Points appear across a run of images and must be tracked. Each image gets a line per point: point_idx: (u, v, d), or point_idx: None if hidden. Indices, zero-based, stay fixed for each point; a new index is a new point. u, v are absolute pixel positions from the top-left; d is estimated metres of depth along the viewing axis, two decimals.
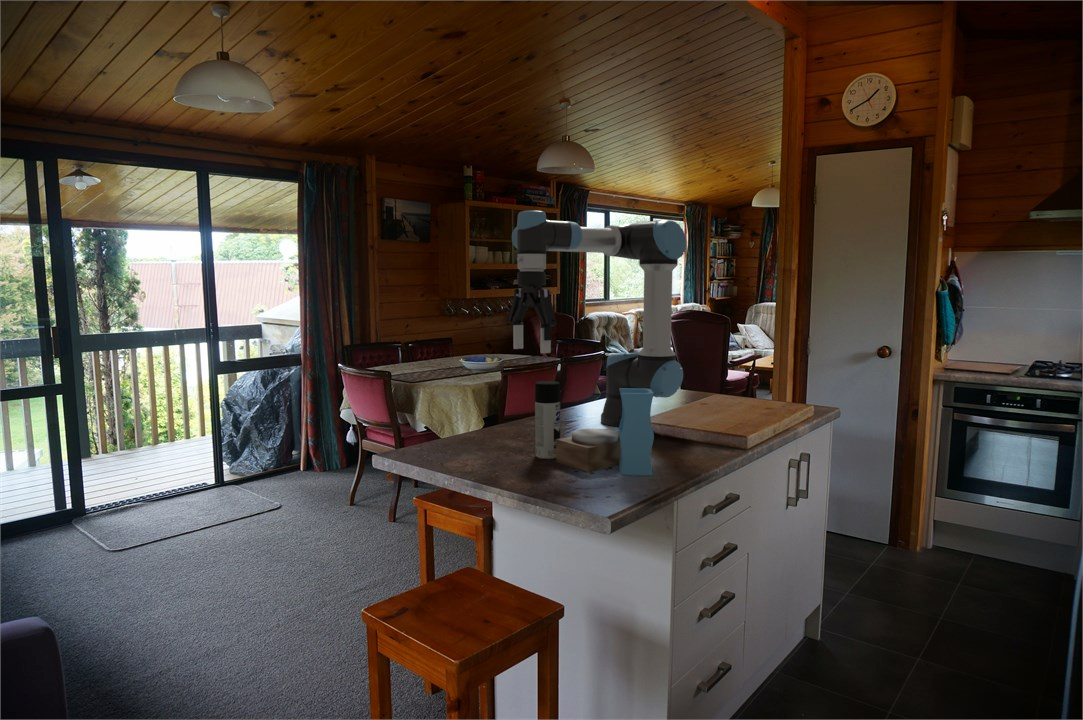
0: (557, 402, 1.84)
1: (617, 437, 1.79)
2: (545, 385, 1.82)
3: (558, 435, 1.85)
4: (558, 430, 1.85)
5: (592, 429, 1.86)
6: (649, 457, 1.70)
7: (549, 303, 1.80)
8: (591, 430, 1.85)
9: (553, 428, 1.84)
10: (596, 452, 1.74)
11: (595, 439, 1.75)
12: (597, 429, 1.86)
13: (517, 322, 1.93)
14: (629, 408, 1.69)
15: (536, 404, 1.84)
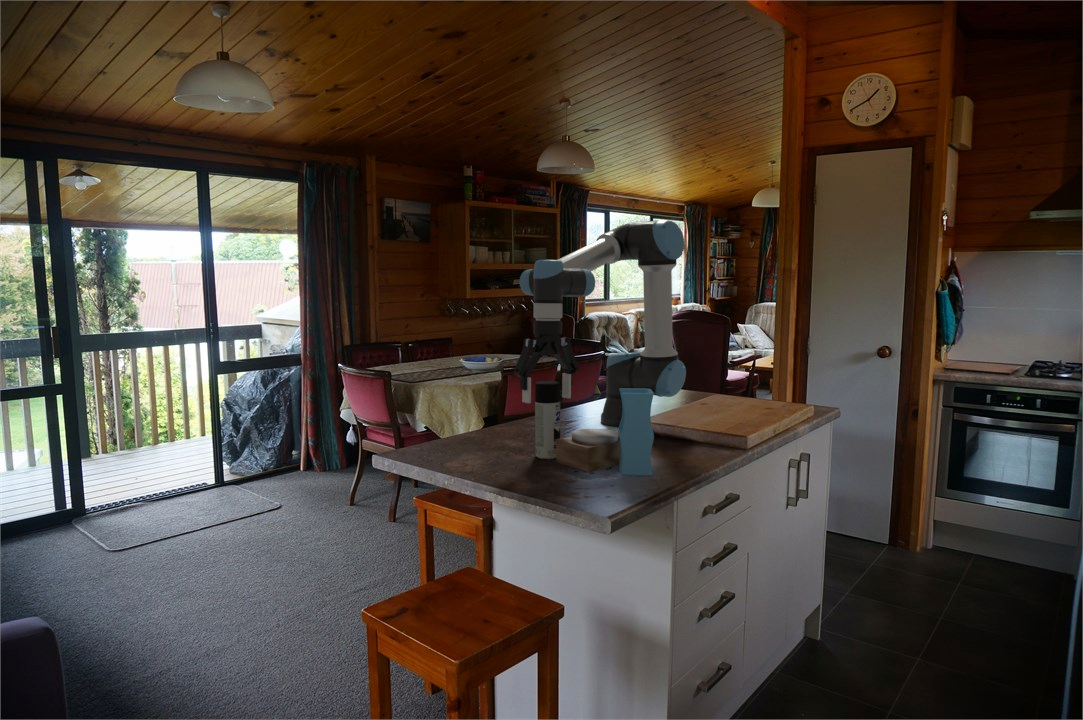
0: (557, 402, 1.84)
1: (617, 437, 1.79)
2: (545, 385, 1.82)
3: (558, 435, 1.85)
4: (558, 430, 1.85)
5: (592, 429, 1.86)
6: (649, 457, 1.70)
7: (525, 353, 1.79)
8: (591, 430, 1.85)
9: (553, 428, 1.84)
10: (596, 452, 1.74)
11: (595, 439, 1.75)
12: (597, 429, 1.86)
13: (567, 371, 1.89)
14: (629, 408, 1.69)
15: (536, 404, 1.84)
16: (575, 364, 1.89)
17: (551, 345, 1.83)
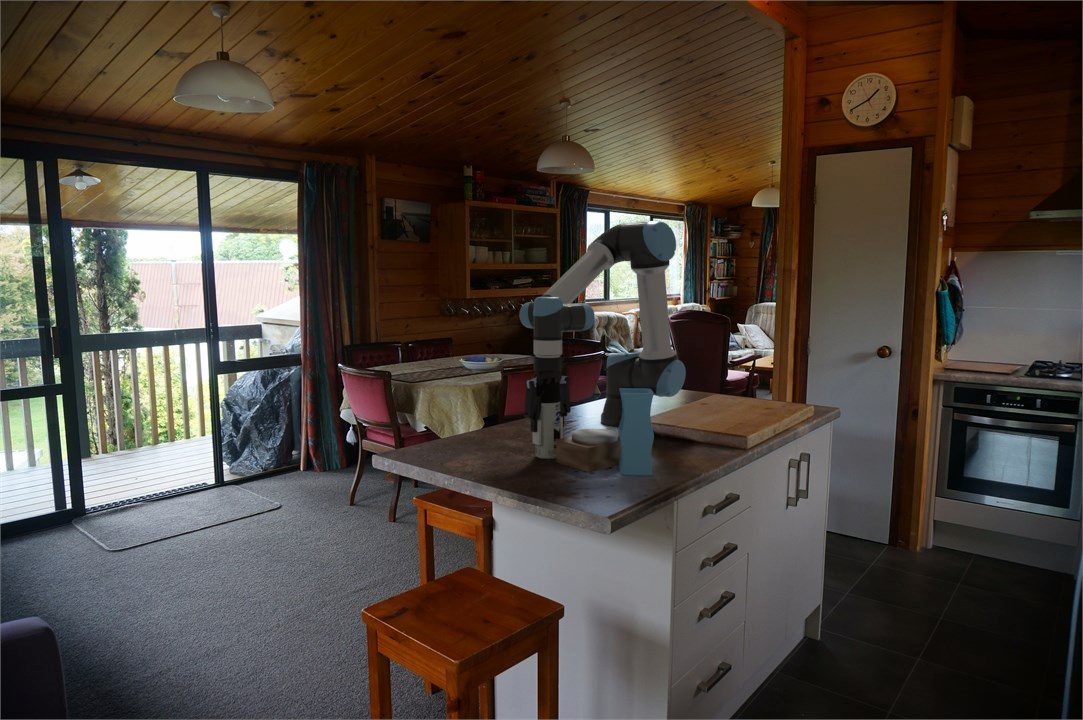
0: (557, 402, 1.84)
1: (617, 437, 1.79)
2: (545, 385, 1.82)
3: (558, 435, 1.85)
4: (558, 430, 1.85)
5: (592, 429, 1.86)
6: (649, 457, 1.70)
7: (529, 395, 1.81)
8: (591, 430, 1.85)
9: (553, 428, 1.84)
10: (596, 452, 1.74)
11: (595, 439, 1.75)
12: (597, 429, 1.86)
13: None
14: (629, 408, 1.69)
15: None
16: (568, 405, 1.89)
17: (551, 380, 1.85)
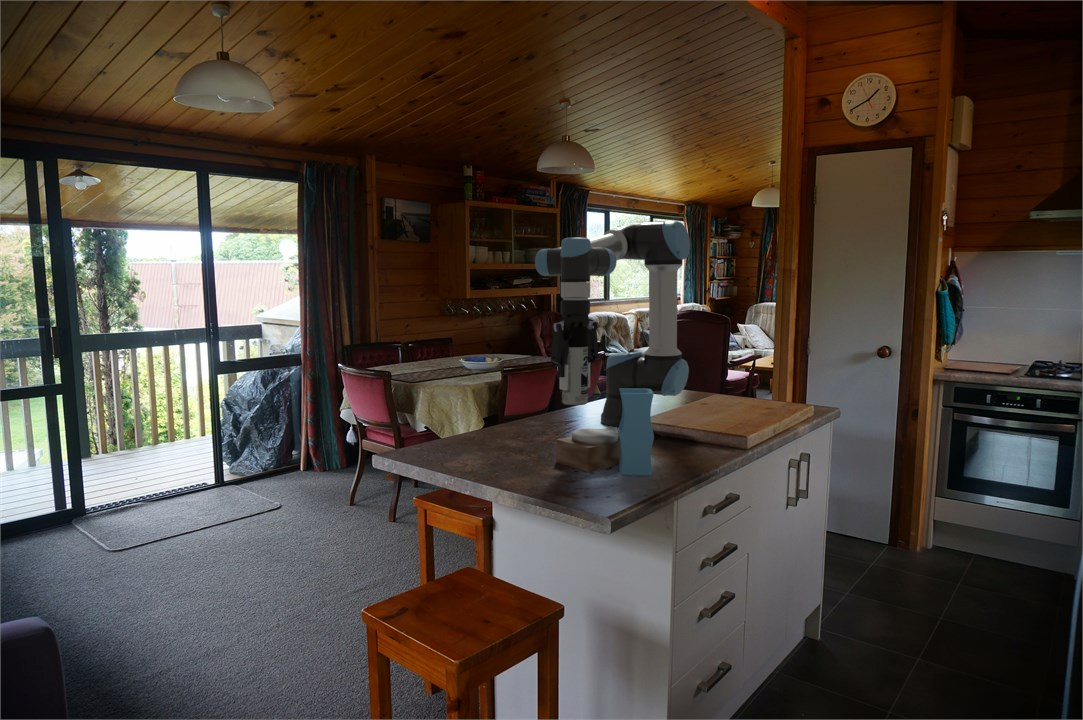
0: (585, 346, 1.79)
1: (617, 437, 1.79)
2: (573, 328, 1.78)
3: (585, 381, 1.80)
4: (586, 376, 1.80)
5: (592, 429, 1.86)
6: (649, 457, 1.70)
7: (556, 339, 1.76)
8: (591, 430, 1.85)
9: (580, 373, 1.79)
10: (596, 452, 1.74)
11: (595, 439, 1.75)
12: (597, 429, 1.86)
13: None
14: (629, 408, 1.69)
15: None
16: (596, 351, 1.84)
17: (579, 324, 1.80)
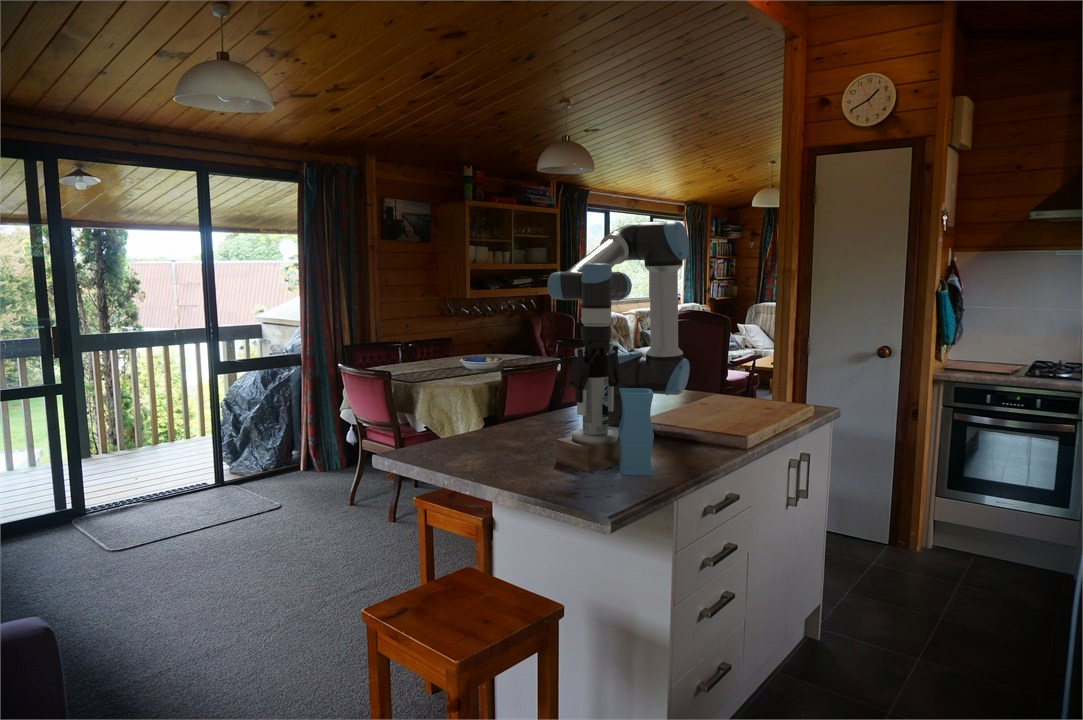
0: (606, 376, 1.77)
1: (617, 437, 1.79)
2: (593, 359, 1.76)
3: (606, 411, 1.79)
4: (606, 406, 1.79)
5: None
6: (649, 457, 1.70)
7: (577, 364, 1.74)
8: None
9: (601, 403, 1.77)
10: (596, 452, 1.74)
11: (595, 439, 1.75)
12: None
13: (609, 383, 1.83)
14: (629, 408, 1.69)
15: None
16: (618, 375, 1.83)
17: (600, 350, 1.78)
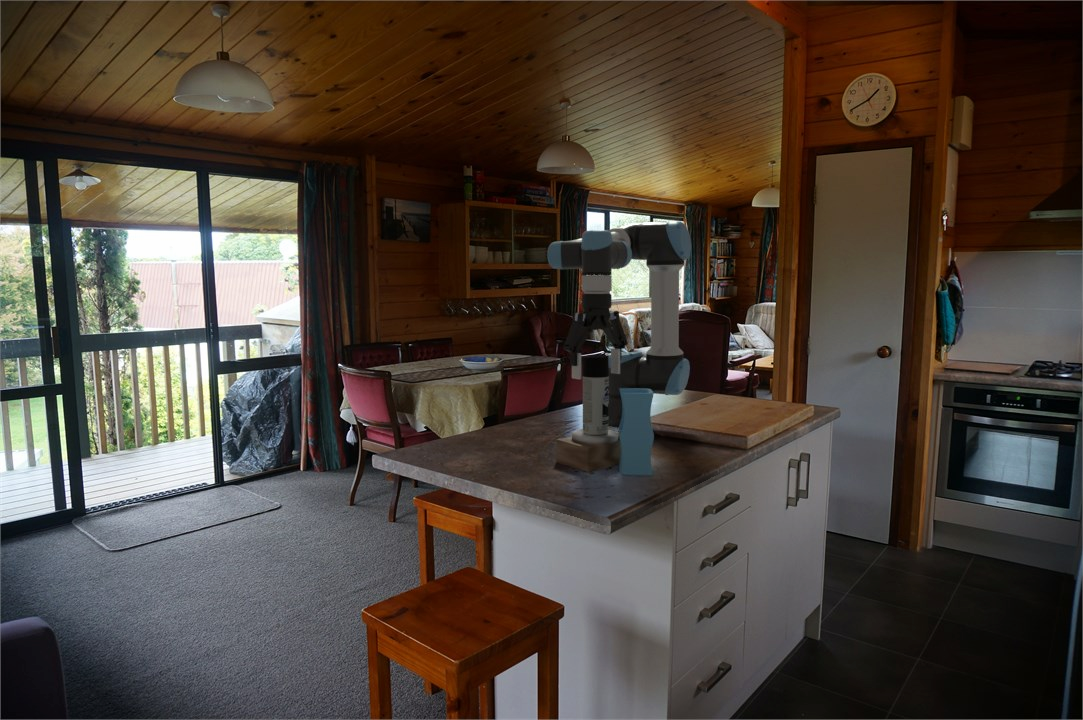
0: (606, 377, 1.77)
1: (617, 437, 1.79)
2: (594, 359, 1.76)
3: (607, 411, 1.79)
4: (607, 406, 1.79)
5: None
6: (649, 457, 1.70)
7: (575, 327, 1.73)
8: None
9: (602, 403, 1.77)
10: (596, 452, 1.74)
11: (595, 439, 1.75)
12: None
13: (616, 345, 1.83)
14: (629, 408, 1.69)
15: (584, 379, 1.78)
16: (624, 338, 1.83)
17: (600, 319, 1.77)
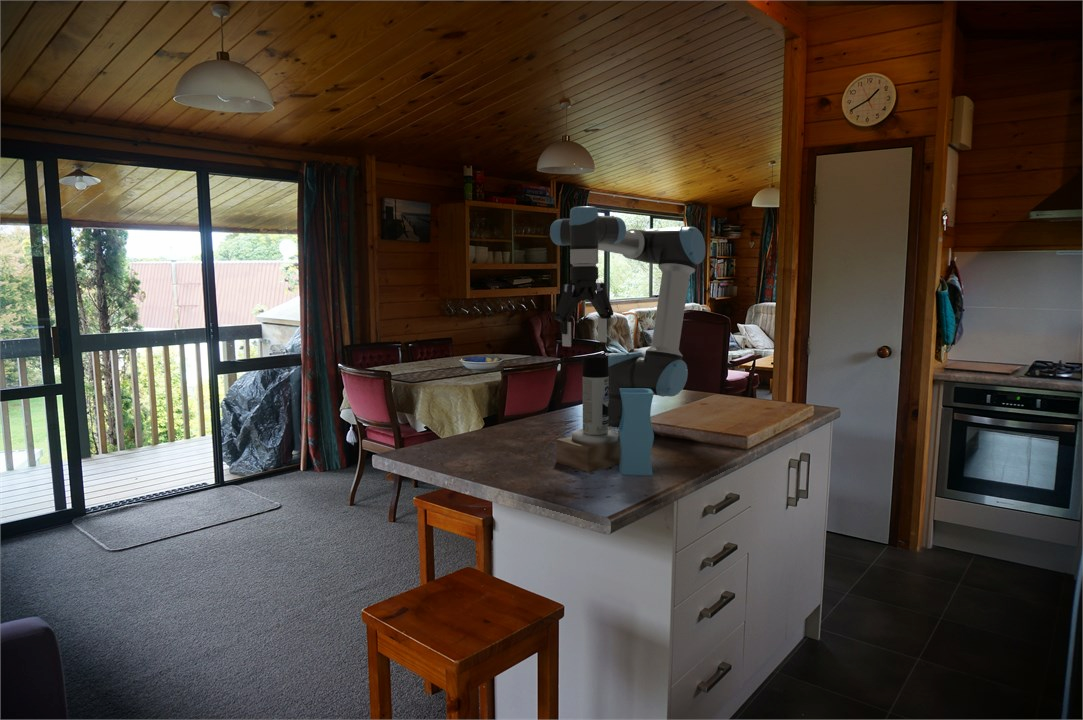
0: (606, 377, 1.77)
1: (617, 437, 1.79)
2: (594, 359, 1.76)
3: (607, 411, 1.79)
4: (607, 406, 1.79)
5: None
6: (649, 457, 1.70)
7: (565, 298, 1.84)
8: None
9: (601, 403, 1.77)
10: (596, 452, 1.74)
11: (595, 439, 1.75)
12: None
13: (602, 316, 1.95)
14: (629, 408, 1.69)
15: (584, 379, 1.78)
16: (610, 309, 1.95)
17: (588, 290, 1.89)
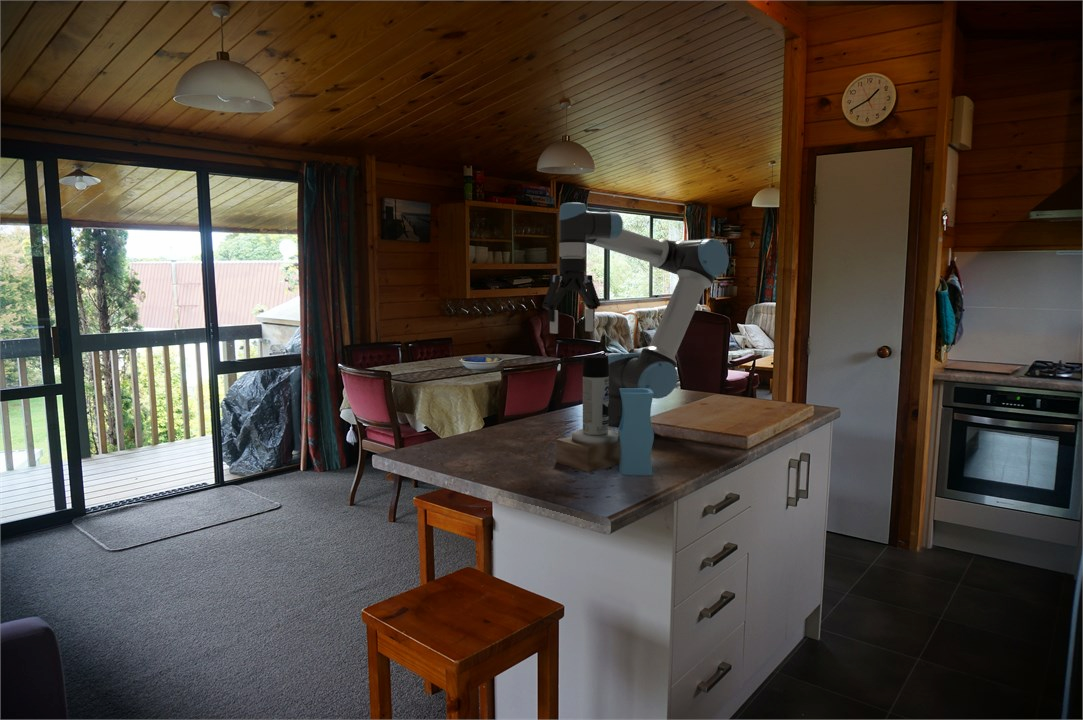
0: (606, 377, 1.77)
1: (617, 437, 1.79)
2: (594, 359, 1.76)
3: (607, 411, 1.79)
4: (607, 406, 1.79)
5: None
6: (649, 457, 1.70)
7: (552, 287, 1.97)
8: None
9: (602, 403, 1.77)
10: (596, 452, 1.74)
11: (595, 439, 1.75)
12: None
13: (590, 306, 2.07)
14: (629, 408, 1.69)
15: (584, 379, 1.78)
16: (597, 300, 2.07)
17: (575, 281, 2.01)
